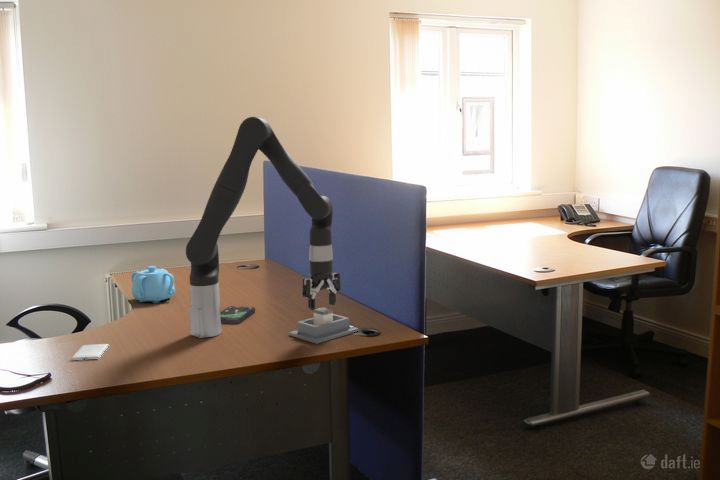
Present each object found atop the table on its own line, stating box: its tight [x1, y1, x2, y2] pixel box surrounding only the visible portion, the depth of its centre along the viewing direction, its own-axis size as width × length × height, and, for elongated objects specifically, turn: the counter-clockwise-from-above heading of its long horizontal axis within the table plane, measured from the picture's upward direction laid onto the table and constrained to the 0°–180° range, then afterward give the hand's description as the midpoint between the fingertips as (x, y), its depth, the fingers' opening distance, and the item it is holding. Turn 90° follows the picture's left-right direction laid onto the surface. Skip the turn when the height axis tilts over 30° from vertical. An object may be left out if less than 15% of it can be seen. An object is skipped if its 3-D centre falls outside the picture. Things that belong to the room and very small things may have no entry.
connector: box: [312, 306, 334, 326], centre depth 244 cm, size 4×5×7 cm
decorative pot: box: [131, 265, 177, 304], centre depth 297 cm, size 16×16×14 cm
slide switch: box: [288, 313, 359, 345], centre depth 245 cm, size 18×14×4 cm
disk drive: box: [220, 305, 256, 325], centre depth 268 cm, size 10×3×15 cm
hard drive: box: [70, 343, 110, 361], centre depth 231 cm, size 2×8×12 cm
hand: (322, 307), depth 244 cm, fingers open, 8 cm apart
